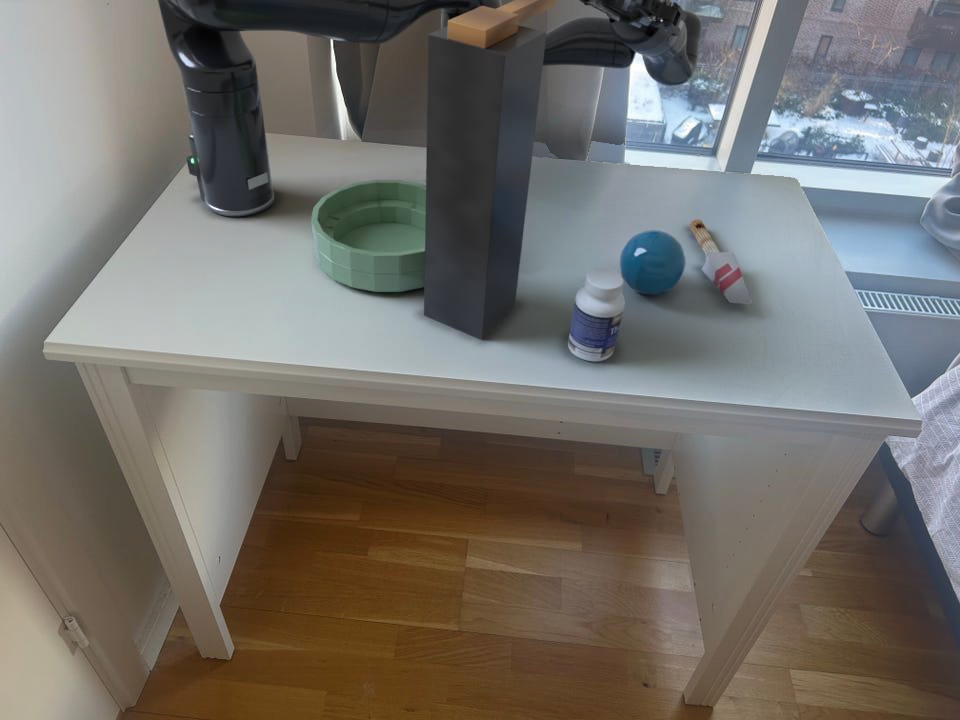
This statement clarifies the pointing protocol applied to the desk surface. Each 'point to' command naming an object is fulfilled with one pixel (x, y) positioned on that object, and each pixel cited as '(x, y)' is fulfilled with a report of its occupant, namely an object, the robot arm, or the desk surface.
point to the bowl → (372, 235)
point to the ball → (652, 262)
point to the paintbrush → (721, 266)
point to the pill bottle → (597, 315)
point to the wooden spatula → (494, 22)
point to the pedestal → (478, 174)
